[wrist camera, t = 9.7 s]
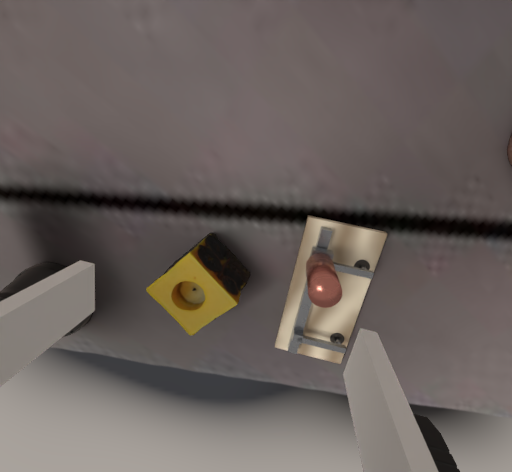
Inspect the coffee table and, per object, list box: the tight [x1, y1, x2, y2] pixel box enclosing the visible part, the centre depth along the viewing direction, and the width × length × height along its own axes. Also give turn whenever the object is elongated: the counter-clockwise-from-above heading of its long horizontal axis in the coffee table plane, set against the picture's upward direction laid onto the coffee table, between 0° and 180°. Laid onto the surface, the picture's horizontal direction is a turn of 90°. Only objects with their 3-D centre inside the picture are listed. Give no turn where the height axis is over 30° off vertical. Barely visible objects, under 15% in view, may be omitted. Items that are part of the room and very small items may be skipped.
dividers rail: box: [288, 226, 346, 354], centre depth 44 cm, size 9×23×3 cm, turn 169°
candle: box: [146, 233, 250, 335], centre depth 44 cm, size 10×10×10 cm
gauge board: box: [275, 215, 387, 364], centre depth 46 cm, size 12×25×1 cm, turn 169°
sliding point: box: [306, 246, 374, 308], centre depth 38 cm, size 10×4×11 cm, turn 79°
